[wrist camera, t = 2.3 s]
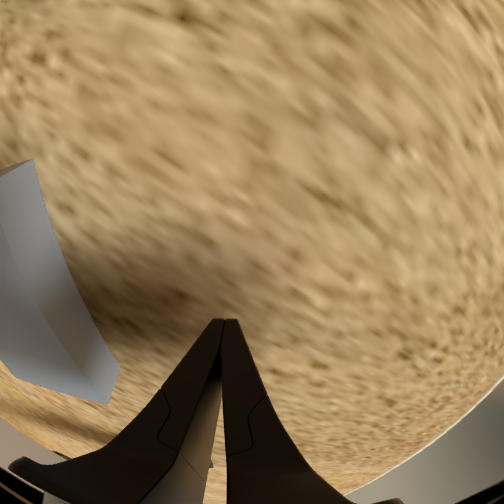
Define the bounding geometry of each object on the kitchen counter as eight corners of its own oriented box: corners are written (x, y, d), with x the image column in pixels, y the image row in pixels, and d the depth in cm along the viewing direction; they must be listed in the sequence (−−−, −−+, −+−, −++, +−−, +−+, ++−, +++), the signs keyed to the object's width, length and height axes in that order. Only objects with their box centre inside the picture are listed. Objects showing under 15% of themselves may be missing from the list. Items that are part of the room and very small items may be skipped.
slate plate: (122, 362, 15) (107, 404, 12) (32, 345, 15) (15, 377, 13) (39, 155, 8) (-13, 185, 6) (-45, 188, 9) (-80, 214, 6)
